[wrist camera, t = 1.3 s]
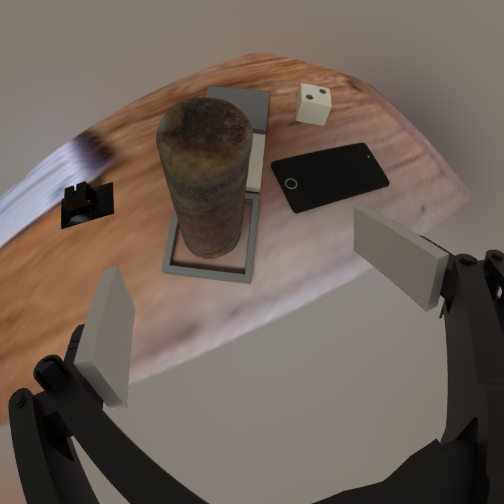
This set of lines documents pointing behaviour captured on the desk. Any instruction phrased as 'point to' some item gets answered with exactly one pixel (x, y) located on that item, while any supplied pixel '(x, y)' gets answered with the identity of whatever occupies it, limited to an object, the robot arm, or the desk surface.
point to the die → (313, 104)
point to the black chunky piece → (86, 203)
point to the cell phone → (328, 176)
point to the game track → (256, 112)
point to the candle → (206, 171)
